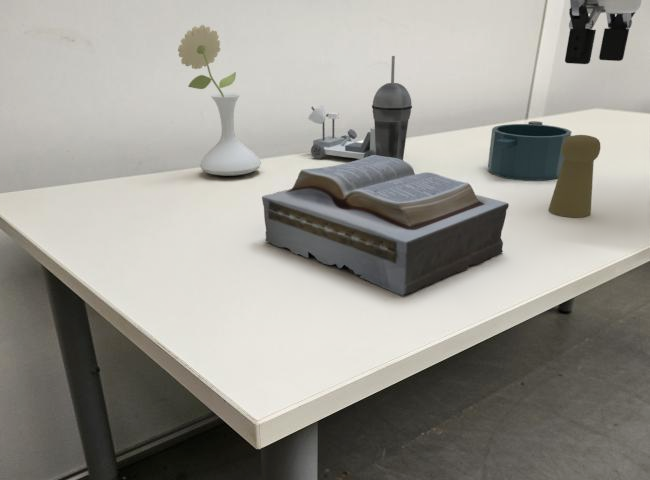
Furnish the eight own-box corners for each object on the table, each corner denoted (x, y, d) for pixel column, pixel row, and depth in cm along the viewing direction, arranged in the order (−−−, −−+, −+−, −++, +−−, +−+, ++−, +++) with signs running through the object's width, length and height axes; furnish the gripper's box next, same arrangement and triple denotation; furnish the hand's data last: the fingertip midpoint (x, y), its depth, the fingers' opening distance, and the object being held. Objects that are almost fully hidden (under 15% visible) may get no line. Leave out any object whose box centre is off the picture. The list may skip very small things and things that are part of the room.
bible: (388, 207, 94) (391, 141, 89) (526, 261, 73) (539, 179, 69) (251, 235, 83) (247, 161, 78) (370, 307, 62) (372, 213, 58)
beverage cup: (410, 167, 117) (416, 54, 108) (406, 176, 111) (413, 57, 102) (372, 166, 119) (375, 54, 110) (367, 174, 112) (370, 56, 103)
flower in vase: (254, 164, 121) (246, 23, 109) (267, 177, 111) (260, 24, 100) (188, 169, 117) (172, 24, 106) (195, 183, 108) (178, 25, 96)
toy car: (299, 107, 122) (329, 100, 131) (300, 156, 127) (330, 147, 135) (378, 114, 113) (405, 106, 122) (376, 167, 118) (403, 156, 127)
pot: (584, 169, 116) (591, 128, 112) (531, 187, 104) (538, 142, 101) (520, 158, 124) (525, 120, 121) (465, 173, 113) (469, 132, 109)
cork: (587, 206, 94) (602, 132, 89) (593, 218, 88) (609, 140, 83) (546, 204, 95) (558, 131, 90) (550, 215, 90) (562, 138, 85)
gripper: (622, -103, 67) (591, 66, 75) (682, -86, 77) (648, 60, 85) (559, -95, 72) (535, 63, 80) (623, -81, 82) (596, 57, 90)
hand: (594, 61), depth 82 cm, fingers open, 9 cm apart
